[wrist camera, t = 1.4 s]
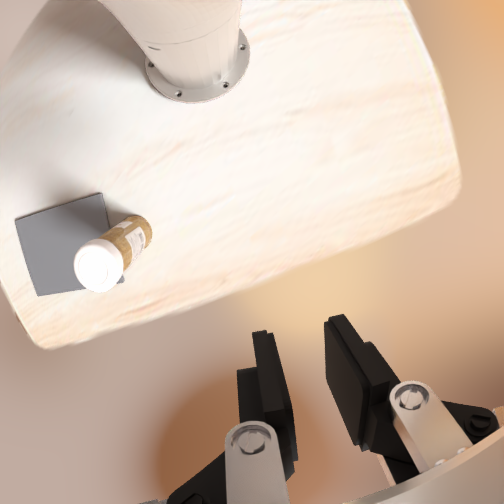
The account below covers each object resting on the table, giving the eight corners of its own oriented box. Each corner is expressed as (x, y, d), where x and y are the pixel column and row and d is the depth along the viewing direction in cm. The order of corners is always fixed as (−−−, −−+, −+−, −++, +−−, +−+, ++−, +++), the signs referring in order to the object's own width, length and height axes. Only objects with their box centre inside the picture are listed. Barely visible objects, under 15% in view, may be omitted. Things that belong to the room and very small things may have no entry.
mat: (39, 294, 37) (37, 296, 36) (17, 220, 33) (14, 221, 33) (124, 280, 37) (123, 282, 37) (102, 193, 34) (100, 193, 33)
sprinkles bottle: (125, 210, 35) (76, 236, 22) (158, 222, 36) (122, 255, 23) (116, 243, 36) (68, 282, 23) (147, 255, 37) (111, 301, 24)
